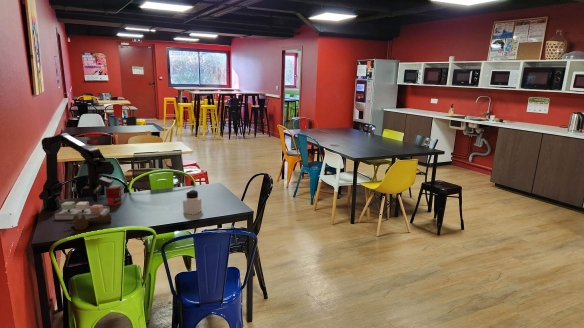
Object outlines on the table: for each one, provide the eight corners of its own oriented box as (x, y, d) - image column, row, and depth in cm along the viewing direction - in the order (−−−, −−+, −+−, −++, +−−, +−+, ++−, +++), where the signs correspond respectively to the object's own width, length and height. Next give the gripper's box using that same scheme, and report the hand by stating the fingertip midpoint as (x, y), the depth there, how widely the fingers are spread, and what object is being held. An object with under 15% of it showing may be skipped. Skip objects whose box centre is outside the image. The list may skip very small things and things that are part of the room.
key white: (76, 209, 194) (75, 204, 193) (80, 206, 199) (79, 201, 198) (85, 209, 194) (84, 204, 194) (89, 206, 199) (88, 201, 198)
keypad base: (55, 219, 191) (54, 212, 190) (67, 211, 202) (66, 204, 201) (100, 219, 192) (99, 212, 192) (109, 211, 204) (109, 204, 203)
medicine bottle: (201, 211, 209) (201, 190, 206) (194, 215, 202) (193, 193, 200) (190, 209, 211) (190, 188, 209) (183, 213, 205) (182, 192, 202)
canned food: (116, 206, 211) (114, 187, 209) (103, 205, 213) (102, 186, 210) (124, 202, 218) (123, 184, 216) (112, 201, 220) (111, 183, 218)
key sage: (61, 209, 193) (61, 204, 193) (66, 206, 198) (65, 201, 197) (71, 209, 194) (70, 204, 193) (75, 206, 198) (74, 201, 198)
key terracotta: (90, 212, 195) (90, 207, 194) (94, 209, 199) (93, 204, 199) (99, 212, 195) (99, 207, 195) (103, 209, 200) (102, 204, 199)
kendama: (113, 226, 186) (66, 233, 175) (109, 220, 194) (64, 226, 183) (112, 214, 185) (65, 220, 174) (109, 209, 193) (63, 214, 182)
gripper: (102, 177, 184) (105, 208, 188) (117, 168, 203) (119, 196, 206) (79, 177, 184) (82, 208, 187) (95, 168, 202) (97, 196, 205)
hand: (96, 202), depth 196 cm, fingers closed
